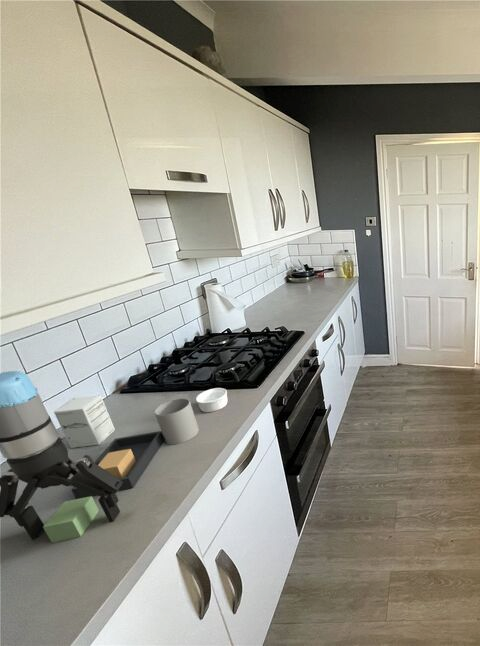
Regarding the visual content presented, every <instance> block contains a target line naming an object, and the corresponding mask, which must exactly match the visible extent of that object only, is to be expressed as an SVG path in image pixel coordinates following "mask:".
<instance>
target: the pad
mask: <svg viewBox="0 0 480 646" xmlns="http://www.w3.org/2000/svg"><path fill="white" fill-rule="evenodd" d="M99 512H100V510H99V508H98V505H97V504H96V502H95V500H94V498H93V496H90V497H85V498H80V499H76V498H75V499H70V500H66V501H63V503H62V504H61V505H60V506H59V507H58V508H57V510H56V511H55V512H54V513H53V514H52V516H51V517H50V518H49V520H48V521H47V522H46V523H45V524H44V527H43V528H44V530H43V531H44V532H45V534H46V536H47V537H48V538H49V540H50V542H51V543H57V542H62V541H66V540H70V539H71V540H72V539H76V538H79V537H82V536H83V534H84V533H85V532H86V530H87V529H88V528H89V526H90V525H91V523H92V521H93V520H94V519H95V518H96V516H97V515H98V514H99Z"/></svg>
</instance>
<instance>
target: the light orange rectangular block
mask: <svg viewBox="0 0 480 646" xmlns="http://www.w3.org/2000/svg"><path fill="white" fill-rule="evenodd" d="M135 463H136V460H135V458H134V455H133V453H132V451H131V449H127V450H121V451H115V452H110V453H108V454H107V455H106V456H105V457H104V458H103V460H102V461H101V462H100V463H99V464H98V465H99V466H100V467H102V468H103V469H105V470H106V471H108V472H109V473H111V474H112V475H113V476H115V477H116V478H123V477H126V476H127V475H128V473H129V472H130V470H131V469H132V468H133V466H134V465H135Z"/></svg>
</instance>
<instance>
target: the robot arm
mask: <svg viewBox="0 0 480 646" xmlns="http://www.w3.org/2000/svg"><path fill="white" fill-rule="evenodd" d="M0 453H1V455H2V456H3V458H4V459H6V463H7V464H8V466H9V468H10V469H8V470H7V471H6V472H5V473H4V474H3V475H1V476H0V518H3V517H4V516H9V517H10V518H13V519H14V520H15V522H16V523H17V525H18V527H21V528H24V530H25V532H26V533H27V535H28V536H29V538H30V539H31V540H32V541H33V540H37V539H38V538H39V536H40V535H41V534H42V533H43V532H44V531H45V530H44V528H43V527H44V525H45V524H44V522H43V520H42V519H41V517H40V516H39V514H38V512H37V511H36V509H35V508H34V506H33V505H29V504H30V503H29V502H30V501H31V499H32V497H33V496H34V494H35V493H36V491H37V489H38V488H39V489H41V490H44V489H47V488H50V487H58V486H61V485H62V486H65V487H76V488H79V489H81V490H84V491H87V492H89V493H92V494H95V495H96V496H97V497H99V498H98V503H99V505H100V506H101V507H100V508H101V509H102V511H103V512H104V514H105V517H106V518H107V520H108V522H109V523H113V522H115V520H116V519H117V517H118V516H119V513H120V512H121V510H120V508H119V506H118V502H119V498H118V495H117V494H116V493H117V492H119V491H118V490H119V488H120V487H121V485H122V484H123V482H122V481H121V480H119V479H118V478H116V477H115V476H113V475H112V474H111V473H109V472H108V471H106V470H105V469H103V468H102V467H100V466H99V465H97V464H96V463H94V462H95V461H94V459H92V457H91V456H90V455H88V454H85V455H83V457H82V458H79V459H77V460H72V459H71V458H69V451H68V448H67V446H66V444H65V442H64V440H63V439H62V437H60V433H59V431H58V430H57V427H56V426H55V424H54V422H53V420H52V417H51V416H50V415H49V413H48V410H47V409H46V407H45V405H44V403H43V400H42V398H41V396H40V394H39V391H38V388H37V387H36V386H35V384H34V383H33V382H32V380H31V378H30V377H29V376H28V375H27V373H26V372H24V371H18V370H9V371H3V372H0ZM71 475H73V476H72V477H71V478H69V477H70V476H71ZM19 481H21V482H24V483H26V486H25V487H24V488H23V490H22V493H21V495H20V496H19V497H18V499H17V501H16V497H17V492H18V486H19ZM104 489H105V491H104Z"/></svg>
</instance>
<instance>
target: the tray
mask: <svg viewBox="0 0 480 646" xmlns="http://www.w3.org/2000/svg"><path fill="white" fill-rule="evenodd" d="M164 442H165V440H164V437H163V434H162V432H161V430H159V431H153V432H148V433H147V432H146V433H141V434H134V435H129V436H123V437H118V438H117V437H116V438H114V439H113V440H112V441H111V443H110V444H109V445H108V446H107V447H106V448H105V449H104V451H103V452H102V453H101V454H100V455H99V456H98V458H97V459H96V460H95V461H94V463H96V464H97V465H98V464H99V463H100V462H101V461H102V460H103V458H104V457H105V456H106V455H107V454H108V453H110V452H115V451H121V450H127V449H131V451H132V453H133V455H134V458H135V460H136V463H135V465H134V466H133V468H132V469H131V470H130V472H129V473H128V475H127V476H126V477H123V478H118V479H119V480H121V481H122V482H123V484H122V485H121V487H120V488H119V490H118V491H117V492H120V491H125V490H129V489H133V488H135V486H136V484H137V483H138V481H139V480H140V478H141V477H142V476H143V474H144V472H146V469H147V468H148V466H149V465H150V463H151V462H152V460H153V458H154V457H155V455H156V454H157V452H158V451H159V449H160V448H161V447H162V445H163V443H164ZM70 490H71V492H72V494H73V496H74V498H75V499H80V498H85V497H90V496H92V497H95V496H97V495H95V494H92V493H89V492H87V491H84V490H81V489H79V488H76V487H74V486H72V488H71V489H70ZM104 491H105V489H104Z"/></svg>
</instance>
